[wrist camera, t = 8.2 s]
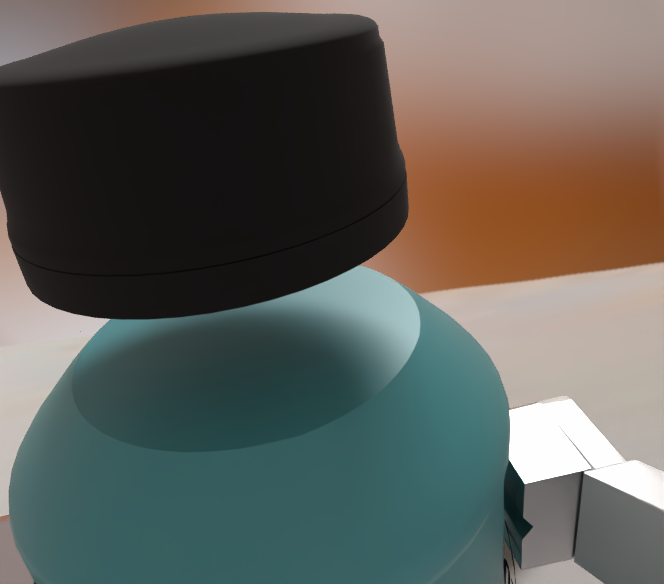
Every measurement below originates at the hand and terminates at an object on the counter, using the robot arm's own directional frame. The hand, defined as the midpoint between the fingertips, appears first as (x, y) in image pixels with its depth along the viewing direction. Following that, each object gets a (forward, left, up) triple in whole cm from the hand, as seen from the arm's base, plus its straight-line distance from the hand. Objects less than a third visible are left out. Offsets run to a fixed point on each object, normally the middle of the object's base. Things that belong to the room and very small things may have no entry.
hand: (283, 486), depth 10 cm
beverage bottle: (0, +1, -13) cm, 13 cm away
